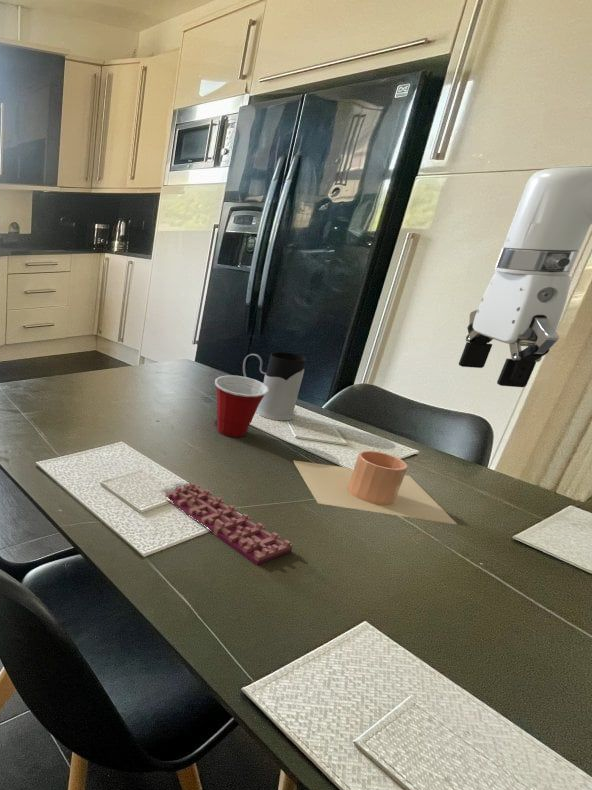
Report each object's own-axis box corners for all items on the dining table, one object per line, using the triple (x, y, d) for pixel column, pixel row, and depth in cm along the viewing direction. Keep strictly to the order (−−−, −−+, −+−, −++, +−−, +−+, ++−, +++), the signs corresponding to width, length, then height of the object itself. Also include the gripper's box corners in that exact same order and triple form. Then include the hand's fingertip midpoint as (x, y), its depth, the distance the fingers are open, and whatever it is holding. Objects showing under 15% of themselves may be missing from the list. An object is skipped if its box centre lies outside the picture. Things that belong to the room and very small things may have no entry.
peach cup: (384, 487, 89) (396, 453, 86) (401, 508, 83) (415, 472, 80) (341, 481, 91) (352, 448, 88) (355, 501, 85) (367, 466, 82)
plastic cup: (209, 439, 107) (219, 389, 103) (202, 420, 117) (211, 373, 112) (263, 445, 105) (275, 394, 100) (250, 425, 115) (261, 377, 110)
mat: (408, 476, 93) (409, 475, 93) (471, 539, 75) (472, 538, 75) (292, 461, 98) (293, 460, 98) (325, 516, 81) (326, 515, 80)
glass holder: (285, 423, 116) (300, 363, 110) (227, 405, 126) (238, 350, 120) (300, 415, 121) (315, 357, 115) (243, 398, 131) (254, 344, 126)
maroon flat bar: (193, 488, 88) (195, 479, 87) (290, 552, 72) (293, 541, 71) (162, 497, 85) (164, 487, 85) (257, 565, 69) (260, 554, 69)
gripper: (621, 270, 61) (562, 397, 67) (524, 258, 76) (484, 362, 82) (546, 268, 63) (495, 391, 69) (466, 256, 78) (431, 358, 84)
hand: (489, 375), depth 76 cm, fingers open, 9 cm apart
